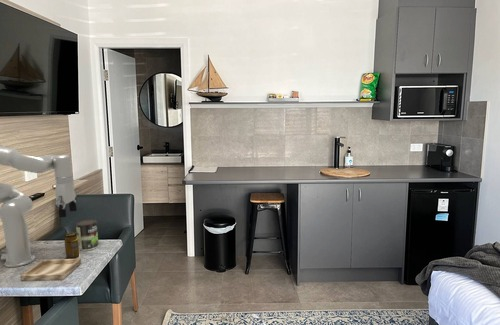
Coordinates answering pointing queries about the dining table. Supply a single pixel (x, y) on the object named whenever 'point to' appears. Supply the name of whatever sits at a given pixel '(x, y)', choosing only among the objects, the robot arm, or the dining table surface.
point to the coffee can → (87, 234)
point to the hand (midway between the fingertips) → (68, 213)
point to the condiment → (71, 246)
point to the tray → (51, 270)
